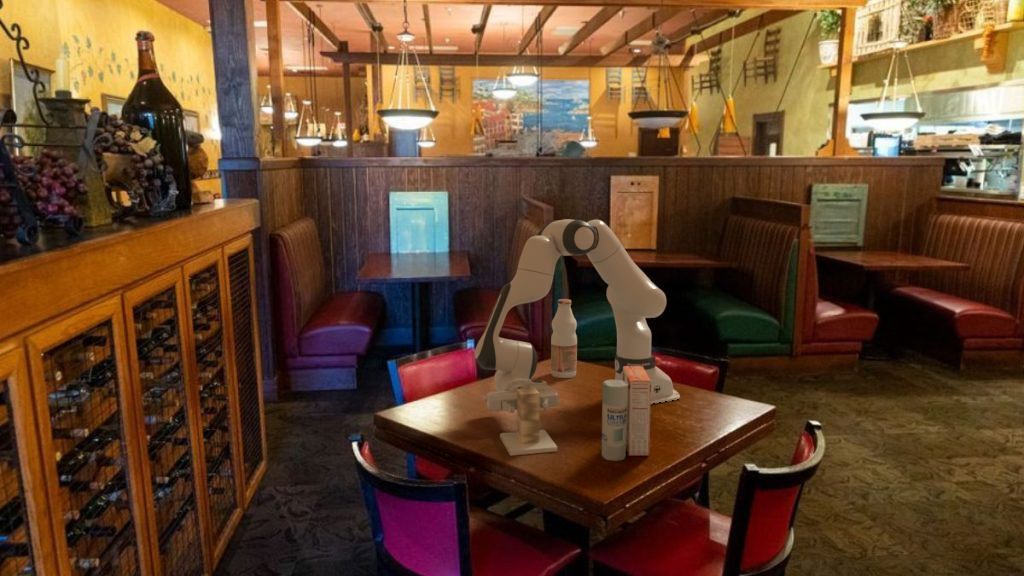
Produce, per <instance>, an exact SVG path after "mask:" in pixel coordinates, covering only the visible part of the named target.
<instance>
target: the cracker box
mask: <svg viewBox="0 0 1024 576" xmlns="http://www.w3.org/2000/svg"><path fill="white" fill-rule="evenodd" d="M623 381H625V382H627V383H628V400H627V429H626V452H627V456H629V457H639V456H640V457H649V456H650V440H651V438H650V436H651V434H650V433H651V428H650V427H651V404H650V402H651V381H650V379H649V377H648V375H647V373H646V372H645V370H644V368H643V366H623Z"/></svg>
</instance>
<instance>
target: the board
mask: <svg viewBox="0 0 1024 576" xmlns="http://www.w3.org/2000/svg"><path fill="white" fill-rule="evenodd" d="M499 438H500V441H501V442H502V444H503V445H504V447H505V449H506V450H507V451H506V452H508V454H509V456H520V455H529V454H542V453H551V452H558V445H557V444H556V443H555V441H553V439H552V438H551V437H550V435H549V434H548V432H547V431H546V430H545V429H539V443H529V444H521V443H520V441H519V440H518V438H517V431H512V432H502V433H499Z"/></svg>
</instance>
